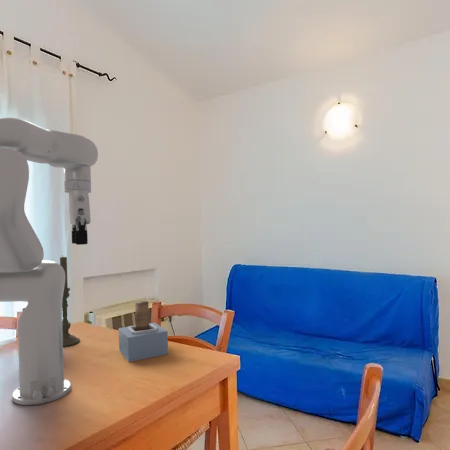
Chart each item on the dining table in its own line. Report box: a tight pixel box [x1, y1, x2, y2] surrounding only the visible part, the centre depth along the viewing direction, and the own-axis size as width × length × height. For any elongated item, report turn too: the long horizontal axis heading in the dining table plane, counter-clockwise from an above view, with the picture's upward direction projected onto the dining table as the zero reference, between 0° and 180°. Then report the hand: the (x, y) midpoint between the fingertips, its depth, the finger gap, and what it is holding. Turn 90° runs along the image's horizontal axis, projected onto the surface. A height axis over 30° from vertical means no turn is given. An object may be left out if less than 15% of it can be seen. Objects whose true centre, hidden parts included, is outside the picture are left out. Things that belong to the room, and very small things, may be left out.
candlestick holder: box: [59, 255, 81, 348], centre depth 130 cm, size 9×9×30 cm
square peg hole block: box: [118, 322, 169, 363], centre depth 119 cm, size 12×12×8 cm
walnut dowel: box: [134, 300, 150, 331], centre depth 119 cm, size 4×4×14 cm
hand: (79, 243), depth 116 cm, fingers open, 9 cm apart
